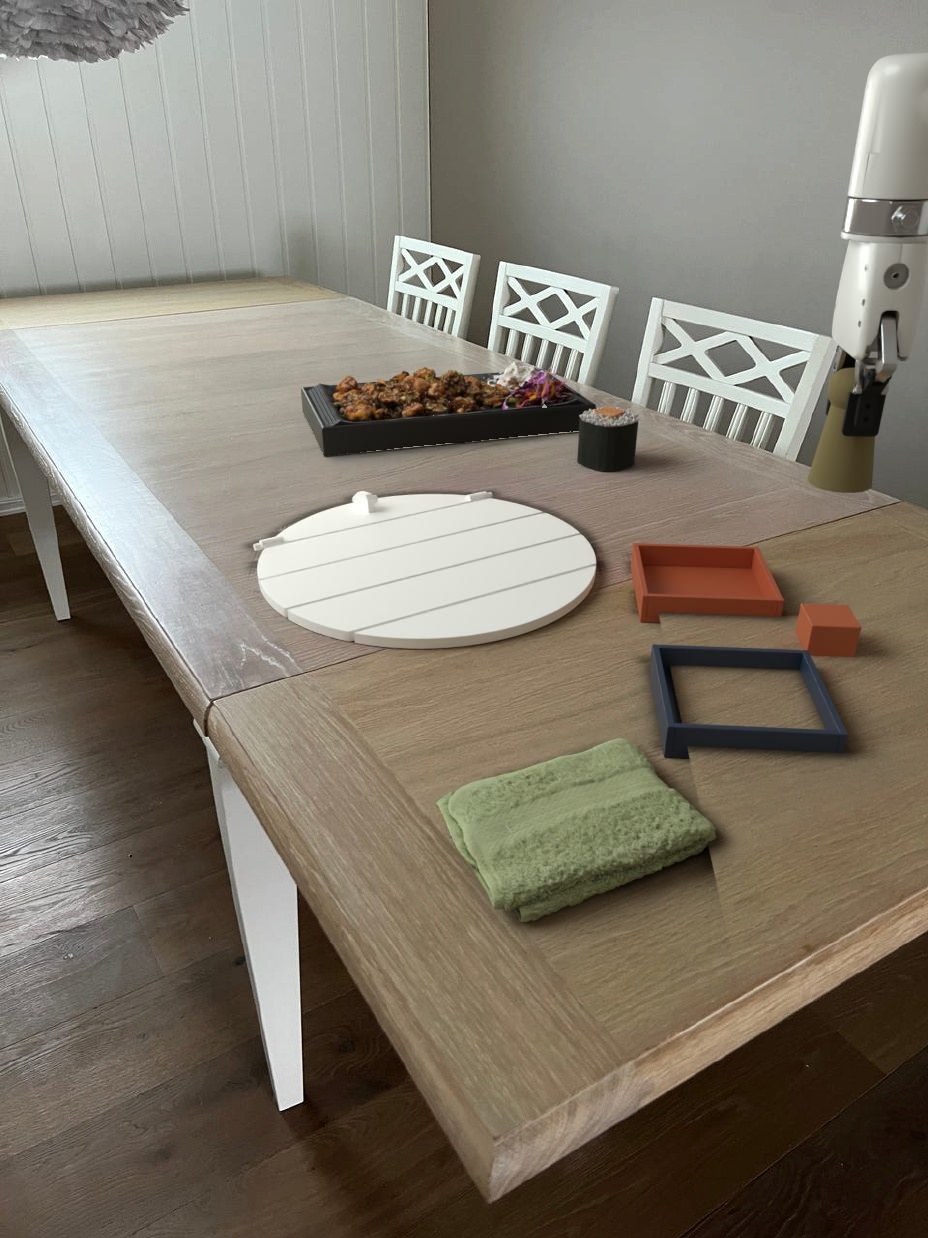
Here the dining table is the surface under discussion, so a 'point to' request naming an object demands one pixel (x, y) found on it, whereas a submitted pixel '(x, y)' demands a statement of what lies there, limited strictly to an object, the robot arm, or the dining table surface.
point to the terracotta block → (828, 630)
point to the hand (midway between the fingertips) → (850, 423)
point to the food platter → (440, 409)
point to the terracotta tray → (702, 581)
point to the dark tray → (742, 737)
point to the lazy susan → (426, 570)
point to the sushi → (607, 438)
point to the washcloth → (571, 828)
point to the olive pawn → (842, 445)
